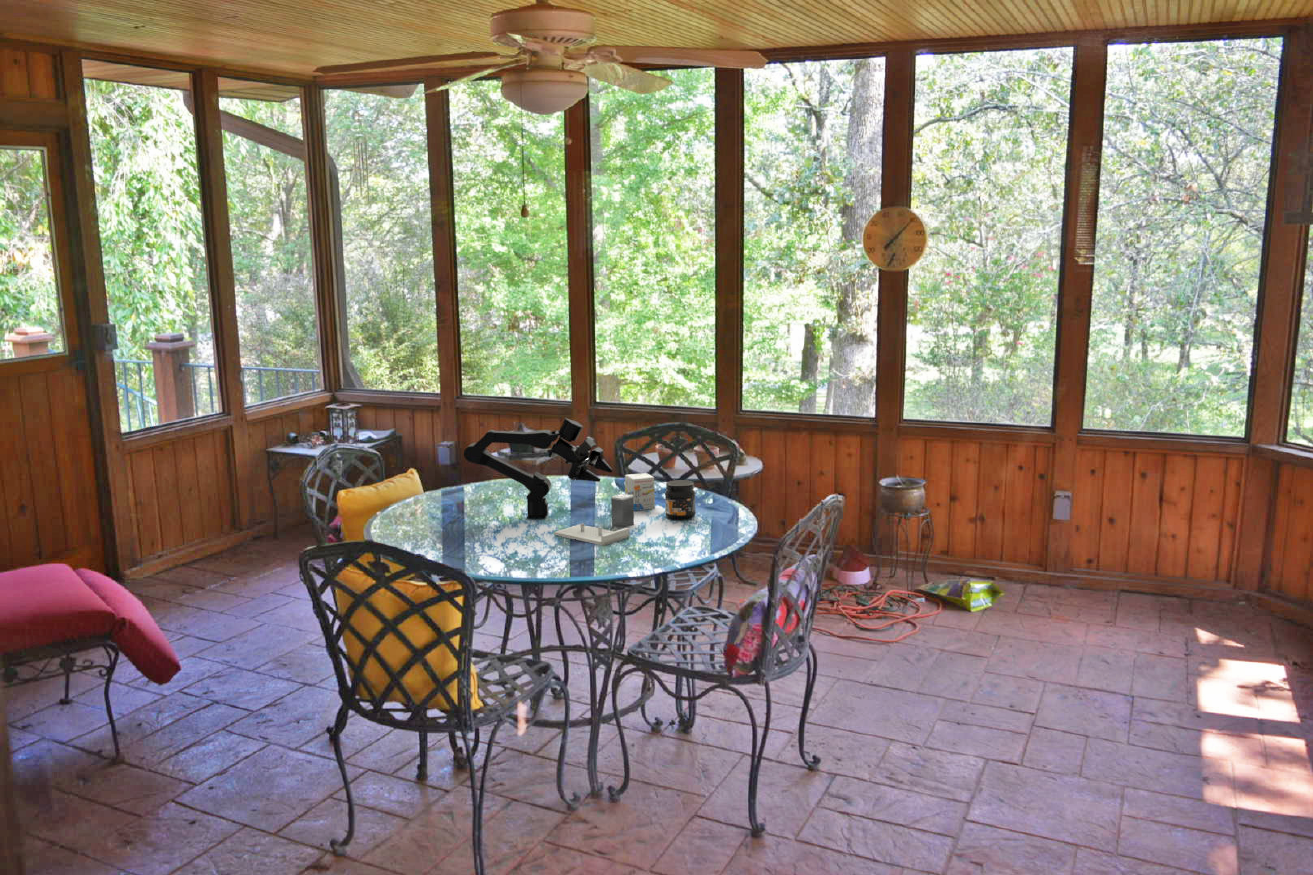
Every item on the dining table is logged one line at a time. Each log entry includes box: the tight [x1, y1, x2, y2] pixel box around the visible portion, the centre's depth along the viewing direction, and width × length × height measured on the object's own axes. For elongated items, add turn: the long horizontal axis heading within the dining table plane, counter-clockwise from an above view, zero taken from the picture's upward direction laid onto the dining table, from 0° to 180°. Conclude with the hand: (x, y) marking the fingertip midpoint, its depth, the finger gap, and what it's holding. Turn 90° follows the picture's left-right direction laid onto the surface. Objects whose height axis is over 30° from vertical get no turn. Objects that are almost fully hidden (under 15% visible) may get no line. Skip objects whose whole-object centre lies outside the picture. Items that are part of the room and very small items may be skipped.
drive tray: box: [553, 523, 630, 547], centre depth 346 cm, size 22×12×4 cm, turn 51°
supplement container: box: [664, 479, 697, 521], centre depth 368 cm, size 10×10×12 cm
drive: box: [610, 493, 635, 529], centre depth 359 cm, size 5×6×10 cm
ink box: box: [624, 472, 656, 512], centre depth 383 cm, size 9×8×12 cm
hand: (606, 476), depth 364 cm, fingers open, 9 cm apart
